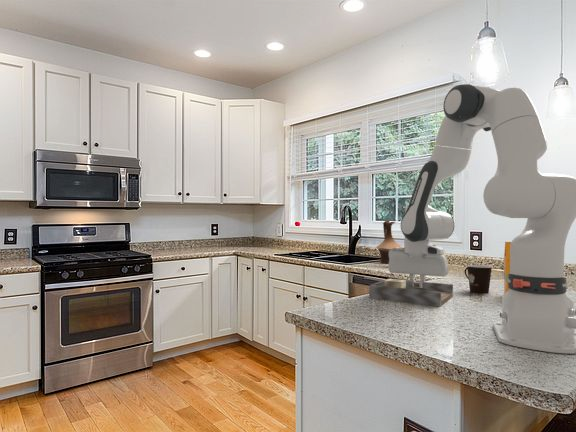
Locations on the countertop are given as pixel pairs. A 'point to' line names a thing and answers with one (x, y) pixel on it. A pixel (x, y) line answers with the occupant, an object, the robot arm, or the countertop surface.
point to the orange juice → (506, 265)
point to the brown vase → (387, 243)
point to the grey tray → (413, 293)
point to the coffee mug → (479, 278)
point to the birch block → (395, 283)
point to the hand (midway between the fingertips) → (417, 287)
